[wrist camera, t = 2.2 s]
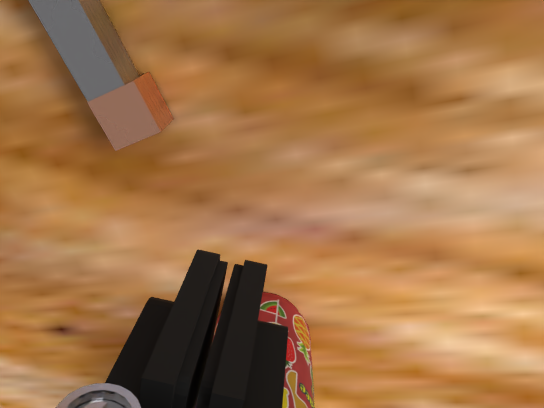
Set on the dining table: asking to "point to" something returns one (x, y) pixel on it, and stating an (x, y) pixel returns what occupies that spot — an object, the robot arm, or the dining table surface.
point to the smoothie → (291, 350)
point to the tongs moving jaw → (104, 70)
